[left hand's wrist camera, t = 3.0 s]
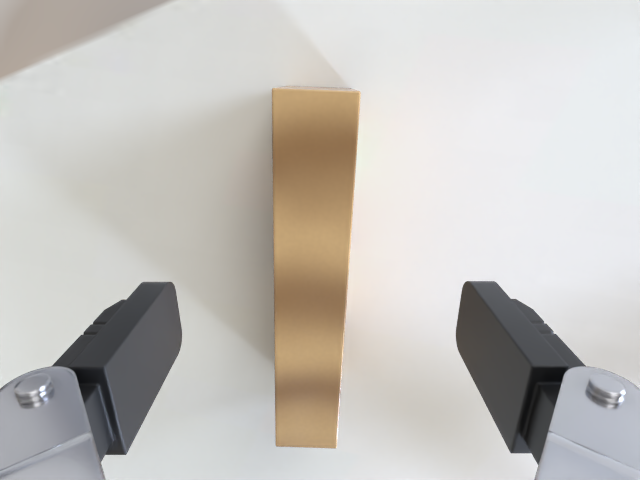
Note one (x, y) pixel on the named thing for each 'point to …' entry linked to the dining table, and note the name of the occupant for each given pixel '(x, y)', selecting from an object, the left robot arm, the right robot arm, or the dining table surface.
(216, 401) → the dining table surface
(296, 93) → the bar
